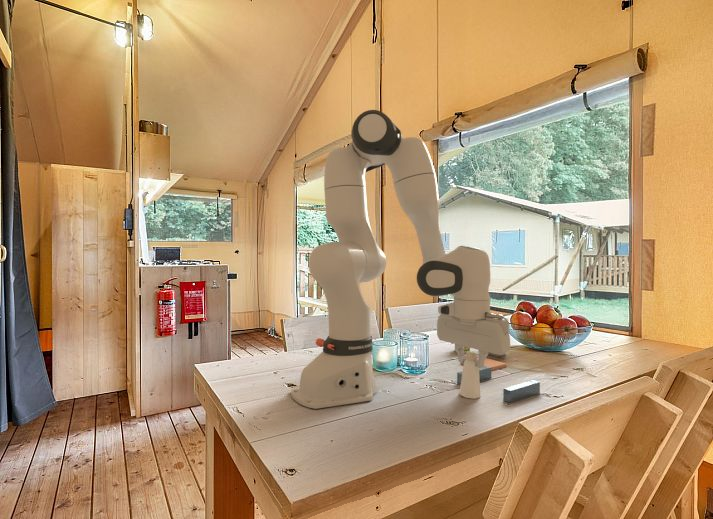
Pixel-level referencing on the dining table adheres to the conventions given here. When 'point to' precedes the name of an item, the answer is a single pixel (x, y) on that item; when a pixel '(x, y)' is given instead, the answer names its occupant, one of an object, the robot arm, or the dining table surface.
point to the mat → (492, 364)
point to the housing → (511, 392)
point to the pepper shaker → (470, 377)
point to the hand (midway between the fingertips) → (471, 364)
